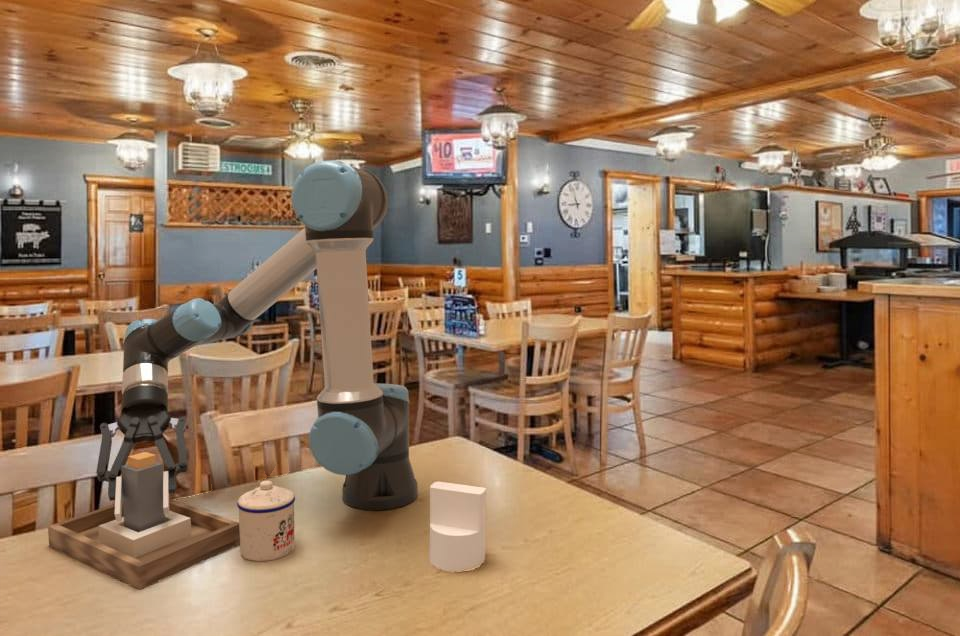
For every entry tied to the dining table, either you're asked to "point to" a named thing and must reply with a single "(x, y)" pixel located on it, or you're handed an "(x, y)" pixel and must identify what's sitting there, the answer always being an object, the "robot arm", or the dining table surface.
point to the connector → (142, 492)
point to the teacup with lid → (266, 522)
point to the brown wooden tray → (142, 571)
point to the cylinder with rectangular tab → (457, 526)
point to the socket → (144, 535)
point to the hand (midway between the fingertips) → (142, 513)
